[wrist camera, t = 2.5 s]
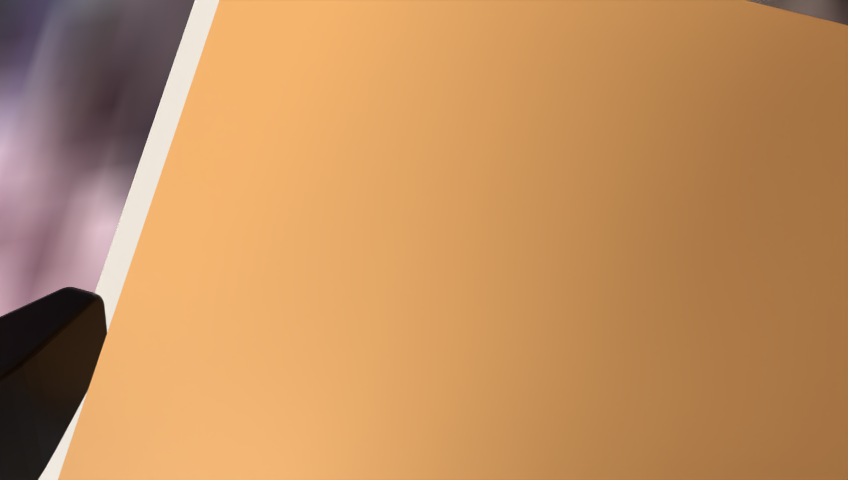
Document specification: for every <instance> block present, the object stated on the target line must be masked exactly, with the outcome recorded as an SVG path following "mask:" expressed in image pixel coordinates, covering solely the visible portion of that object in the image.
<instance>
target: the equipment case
mask: <svg viewBox="0 0 848 480" xmlns="http://www.w3.org/2000/svg"><path fill="white" fill-rule="evenodd" d="M218 3H219V0H195V2H194V5H193V8H192V11H191V14H190V17H189V20H188V23H187V25H186V28H185V31H184V34H183V37H182V40H181V43H180V46H179V49H178V52H177V55H176V58H175V61H174V63H173V66H172V69H171V72H170V75H169V78H168V81H167V84H166V87H165V90H164V93H163V96H162V98H161V101H160V104H159V107H158V110H157V113H156V116H155V119H154V122H153V125H152V128H151V131H150V133H149V136H148V139H147V142H146V145H145V148H144V151H143V154H142V157H141V160H140V163H139V166H138V169H137V171H136V174H135V177H134V180H133V183H132V186H131V189H130V192H129V195H128V198H127V201H126V204H125V206H124V209H123V212H122V215H121V218H120V221H119V224H118V227H117V230H116V233H115V236H114V239H113V242H112V244H111V247H110V250H109V253H108V256H107V259H106V262H105V265H104V268H103V271H102V274H101V277H100V279H99V282H98V285H97V288H96V291H95V293H96V294H98V295H100V296H101V297H102V299H103V301H104V305H105V315H106V325H107V332H108V329H109V326H110V323H111V320H112V317H113V315H114V312H115V309H116V306H117V303H118V300H119V297H120V294H121V291H122V288H123V285H124V282H125V279H126V276H127V273H128V270H129V267H130V264H131V261H132V258H133V255H134V252H135V249H136V246H137V243H138V240H139V237H140V234H141V231H142V229H143V226H144V223H145V220H146V217H147V214H148V211H149V208H150V205H151V202H152V199H153V196H154V193H155V190H156V187H157V184H158V181H159V178H160V175H161V172H162V169H163V166H164V163H165V160H166V157H167V154H168V151H169V148H170V145H171V143H172V140H173V137H174V134H175V131H176V128H177V125H178V122H179V119H180V116H181V113H182V110H183V107H184V104H185V101H186V98H187V95H188V92H189V89H190V86H191V83H192V80H193V77H194V74H195V71H196V68H197V65H198V62H199V60H200V57H201V54H202V51H203V48H204V45H205V42H206V39H207V36H208V33H209V30H210V27H211V24H212V21H213V18H214V15H215V12H216V9H217V6H218ZM87 392H88V391H87ZM86 395H87V393H86ZM86 395H85V397H84V399H83V400H82V402H81V404H80V406H79V408H78V410H77V412H76V413H75V415H74V417H73V419H72V421H71V423H70V425H69V426H68V428H67V430H66V432H65V434H64V436H63V438H62V439H61V441H60V443H59V445H58V447H57V449H56V451H55V452H54V454H53V456H52V458H51V459H50V461H49V463H48V465H47V466H46V468H45V470H44V471H43V473H42V474H41V476H40V478H39V479H38V480H58V478H59V475H60V472H61V469H62V466H63V463H64V460H65V457H66V454H67V451H68V448H69V445H70V442H71V439H72V436H73V433H74V430H75V427H76V424H77V421H78V418H79V415H80V412H81V409H82V406H83V403H84V401H85V398H86Z"/></svg>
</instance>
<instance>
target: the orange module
mask: <svg viewBox="0 0 848 480" xmlns="http://www.w3.org/2000/svg"><path fill="white" fill-rule="evenodd" d="M58 480H848V25H844V24H840V23H836V22H832V21H828V20H824V19H820V18H816V17H812V16H808V15H804V14H800V13H795V12H791V11H787V10H783V9H779V8H775V7H771V6H767V5H763V4H759V3H755V2H751V1H746V0H219V3H218V6H217V9H216V12H215V15H214V18H213V21H212V24H211V27H210V30H209V33H208V36H207V39H206V42H205V45H204V48H203V51H202V54H201V57H200V60H199V62H198V65H197V68H196V71H195V74H194V77H193V80H192V83H191V86H190V89H189V92H188V95H187V98H186V101H185V104H184V107H183V110H182V113H181V116H180V119H179V122H178V125H177V128H176V131H175V134H174V137H173V140H172V143H171V145H170V148H169V151H168V154H167V157H166V160H165V163H164V166H163V169H162V172H161V175H160V178H159V181H158V184H157V187H156V190H155V193H154V196H153V199H152V202H151V205H150V208H149V211H148V214H147V217H146V220H145V223H144V226H143V229H142V231H141V234H140V237H139V240H138V243H137V246H136V249H135V252H134V255H133V258H132V261H131V264H130V267H129V270H128V273H127V276H126V279H125V282H124V285H123V288H122V291H121V294H120V297H119V300H118V303H117V306H116V309H115V312H114V315H113V317H112V320H111V323H110V326H109V329H108V332H107V335H106V338H105V341H104V344H103V347H102V350H101V353H100V356H99V359H98V362H97V365H96V368H95V371H94V374H93V377H92V380H91V383H90V386H89V389H88V392H87V395H86V398H85V401H84V403H83V406H82V409H81V412H80V415H79V418H78V421H77V424H76V427H75V430H74V433H73V436H72V439H71V442H70V445H69V448H68V451H67V454H66V457H65V460H64V463H63V466H62V469H61V472H60V475H59V478H58Z"/></svg>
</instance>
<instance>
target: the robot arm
mask: <svg viewBox="0 0 848 480" xmlns="http://www.w3.org/2000/svg"><path fill="white" fill-rule="evenodd" d="M106 335H107V325H106V315H105V305H104V301H103V299H102V297H101V296H100V295H98V294H96V293H92V292H89V291H85V290H82V289H78V288H74V287H66V288H62V289H60V290H58V291H55V292H53V293H51V294H49V295H47V296H44V297H42V298H40V299H38V300H36V301H34V302H31V303H29V304H27V305H25V306H23V307H21V308H18V309H16V310H14V311H12V312H10V313H7V314H5V315H3V316H1V317H0V480H38V479H39V478H40V476H41V474H42V473H43V471H44V470H45V468H46V466H47V465H48V463H49V461H50V459H51V458H52V456H53V454H54V452H55V451H56V449H57V447H58V445H59V443H60V441H61V439H62V438H63V436H64V434H65V432H66V430H67V428H68V426H69V425H70V423H71V421H72V419H73V417H74V415H75V413H76V412H77V410H78V408H79V406H80V404H81V402H82V400H83V399H84V397H85V395H86V393H87V391H88V389H89V386H90V383H91V380H92V377H93V374H94V371H95V368H96V365H97V362H98V359H99V356H100V353H101V350H102V347H103V344H104V341H105V338H106Z"/></svg>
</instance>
